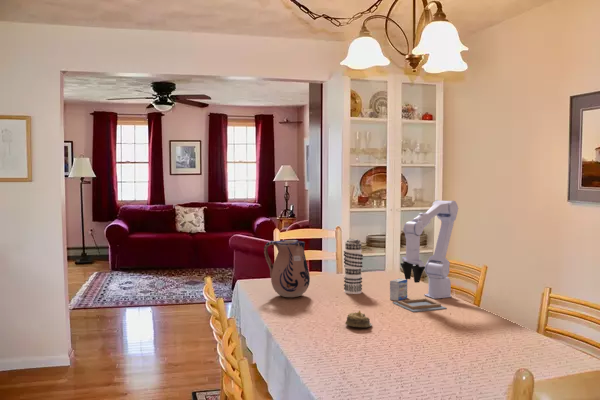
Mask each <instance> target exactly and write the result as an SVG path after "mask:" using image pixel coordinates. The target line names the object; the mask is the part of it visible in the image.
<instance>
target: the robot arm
mask: <svg viewBox="0 0 600 400" xmlns="http://www.w3.org/2000/svg"><path fill="white" fill-rule="evenodd" d="M431 205H432V206H431V207H429V209H427V211H426V212H419V213H418V214H417V216H416V217H414V218H413V219H412V220H409V221H407V222H405V223H404V226H403V228H402V229H403V233H404V238H405V256H402V257H401V262H400V266H401V268H402V272H403V275H404V279H407V280H411V277H412V273H413V281H414V283H416V284H417V283H418V284H419V283H420V282H421V278H422V275H423V272H425V275H426V276H427V277H428V291H427V292H428V293H425V294H424V296H426V297H428V298H431V299H434V300H435V299H436V300H437V299H446V298H452V295H451V291H452V288H451V287H452V286H451V285H452V282H451V279H450V277H449V274H450V264H451V262H450V260H449V259H448V258H447V252H448V249H449V245H450V241H451V236H452V232H453V228H454V224H455V221H456V219H457V216H458V212H459V206H458V203H457V202H456V200H440V199H436V200H435V201H433V202H432V204H431ZM436 216H437V218H438V220H440V221H441V225H440V228H439V231H438V235H437V240H436V244H435V249H434V252H433V254H432V255H430V256H429V257H428V259H427V261H426V263H425V262H424V261H422V260H421V259H420V254H421V253H420V252H421V251H420V250H421V249H420V247H421V245H420V242H421V239H420V238H421V235H422V234H423V231H424V230H425V228H426V227H427V226H429V224H430V223H432V222H431V220H432V219H433V218H435V217H436Z"/></svg>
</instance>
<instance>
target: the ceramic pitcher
mask: <svg viewBox="0 0 600 400" xmlns="http://www.w3.org/2000/svg"><path fill="white" fill-rule="evenodd" d="M271 245H272V246H274V247H276V249H277V251H278V252H277V254H276V257H275V260H274V262H272V260H271V258H270V256H269V250H268V248H269V247H270V246H271ZM305 245H306V242H305V241H302V240H298V239H287V240H286V239H284V240H271V241H268V242H267V243H266V244H265V245H264V247H263V254H264V257H265V260H266V263H267V266H268V268H269V276H270V279H271V281H270V282H271V286H272V288H273V290H274V291H275V293H277V295H279V296H281V297H284V298H298V297H301V296H302V295H303V294H304V293H306V292H307V290H308V288H309V286H310V282H311V281H310V279H311V277H310V270H309V266H308V263H307V258H306V254H305V253H306V252H305Z"/></svg>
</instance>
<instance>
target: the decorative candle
mask: <svg viewBox="0 0 600 400" xmlns="http://www.w3.org/2000/svg"><path fill="white" fill-rule="evenodd" d="M344 243H345V248H344V250H343V256H344V258H343V260H344V261H343V263H344V277H343V282H344V283H343V286H344V287H343V292H344V294H349V295H353V294H354V295H359V294H361V293H363V291H362V290H363V288H362V287H363V284H362V283H363V281H362V280H363V277H362V269H363V265H362V264H363V262H362V260H364V258H363V256H364V255H363V254H362V252H363V251H362V244H363V242H362V241H361V240H360V239H359V238H348V239H346V241H345V242H344Z"/></svg>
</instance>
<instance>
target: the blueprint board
mask: <svg viewBox="0 0 600 400" xmlns="http://www.w3.org/2000/svg"><path fill="white" fill-rule="evenodd" d="M392 304H393V305H396V306H398V307H401V308H403V309H405V310H407V311H410V312H412V313H419V312H420V313H421V312H429V311H439V310H447V308H448V307H446V306H443V305H442V304H441V303H439V302H437V301H433V300H432V299H428V298H415V299H403V300H400V301H392Z"/></svg>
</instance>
